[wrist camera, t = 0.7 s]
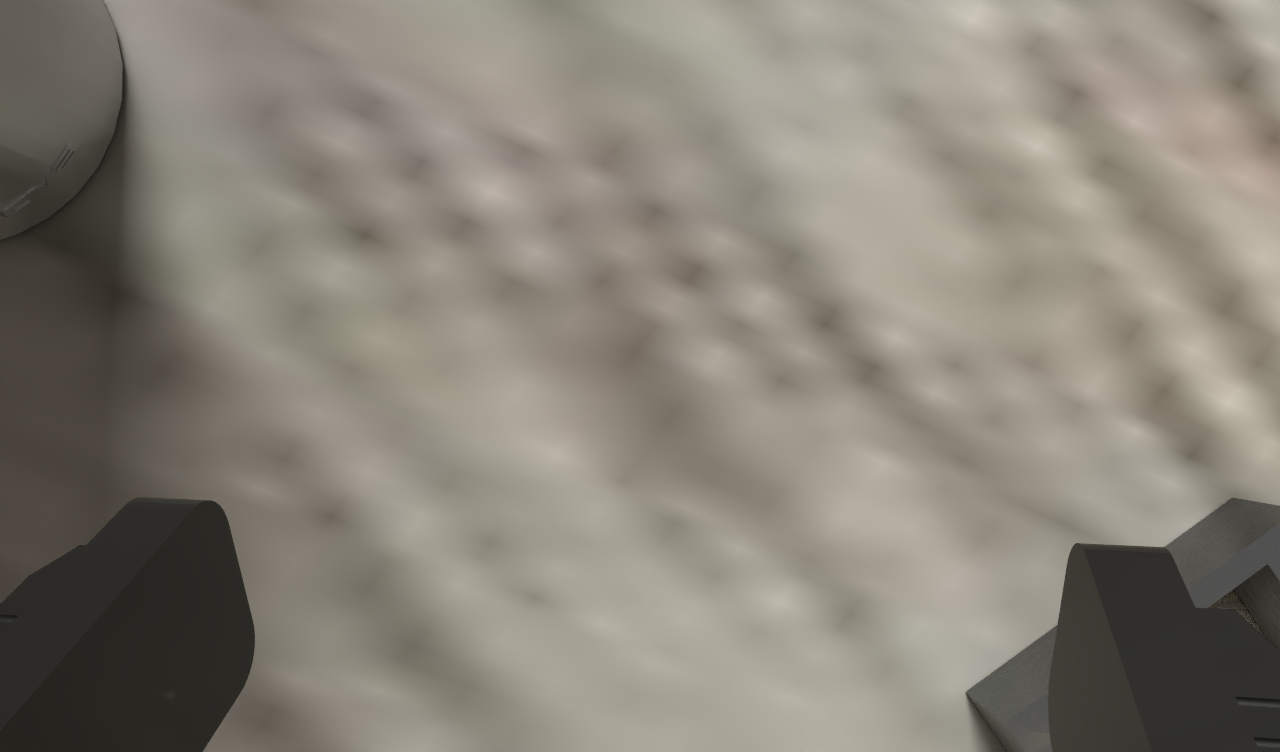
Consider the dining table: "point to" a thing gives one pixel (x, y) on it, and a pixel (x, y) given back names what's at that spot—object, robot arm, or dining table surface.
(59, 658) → the robot arm
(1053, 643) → the grey tray with studs
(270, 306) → the dining table surface
